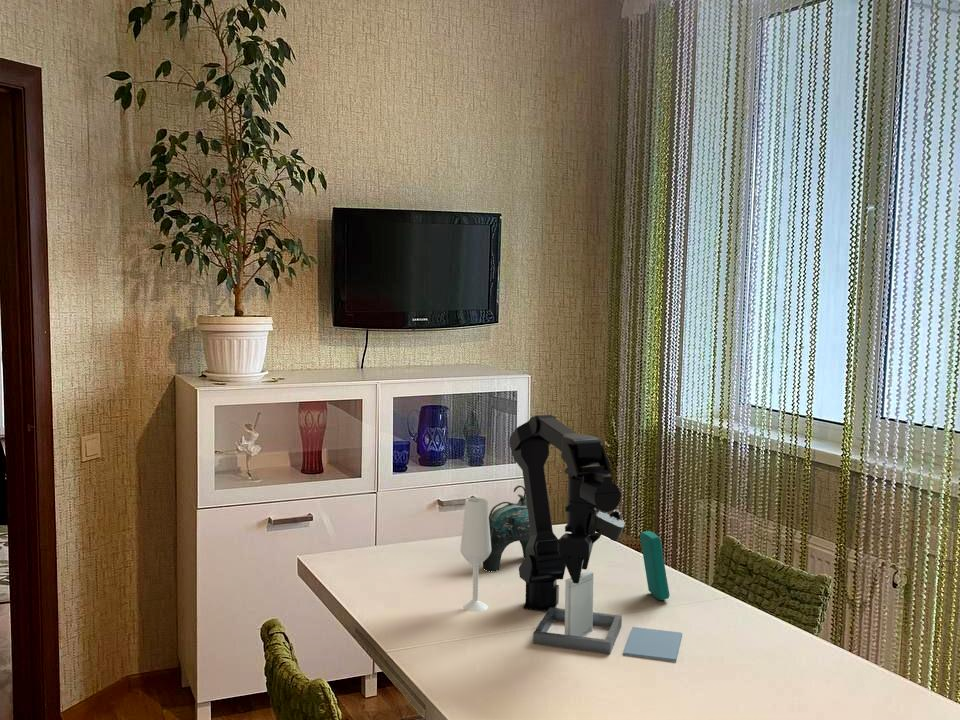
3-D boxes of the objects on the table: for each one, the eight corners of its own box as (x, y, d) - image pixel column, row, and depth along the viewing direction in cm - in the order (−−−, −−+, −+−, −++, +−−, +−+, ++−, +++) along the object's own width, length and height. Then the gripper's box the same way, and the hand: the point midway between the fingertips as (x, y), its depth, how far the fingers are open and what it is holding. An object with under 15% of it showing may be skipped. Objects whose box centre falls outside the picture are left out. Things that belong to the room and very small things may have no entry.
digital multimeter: (660, 603, 210) (672, 600, 211) (649, 538, 209) (662, 535, 210) (648, 594, 217) (660, 591, 218) (638, 531, 216) (650, 529, 217)
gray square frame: (533, 645, 186) (533, 633, 186) (549, 618, 200) (549, 607, 200) (610, 655, 181) (610, 642, 181) (621, 627, 196) (621, 615, 196)
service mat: (623, 655, 181) (623, 652, 181) (632, 629, 195) (632, 626, 195) (676, 662, 179) (676, 659, 178) (682, 635, 192) (682, 632, 192)
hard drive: (593, 631, 193) (594, 572, 192) (569, 643, 187) (571, 582, 186) (586, 629, 194) (588, 570, 193) (563, 640, 188) (564, 580, 187)
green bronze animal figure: (532, 555, 246) (533, 479, 244) (550, 560, 241) (552, 483, 239) (476, 570, 232) (477, 490, 231) (494, 576, 228) (495, 495, 226)
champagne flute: (454, 611, 204) (456, 502, 202) (466, 601, 210) (468, 495, 208) (483, 615, 202) (485, 505, 199) (495, 605, 208) (496, 498, 206)
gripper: (615, 514, 177) (613, 595, 179) (628, 492, 195) (626, 566, 197) (557, 509, 180) (555, 589, 182) (575, 488, 198) (573, 561, 200)
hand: (580, 576), depth 190 cm, fingers open, 9 cm apart
